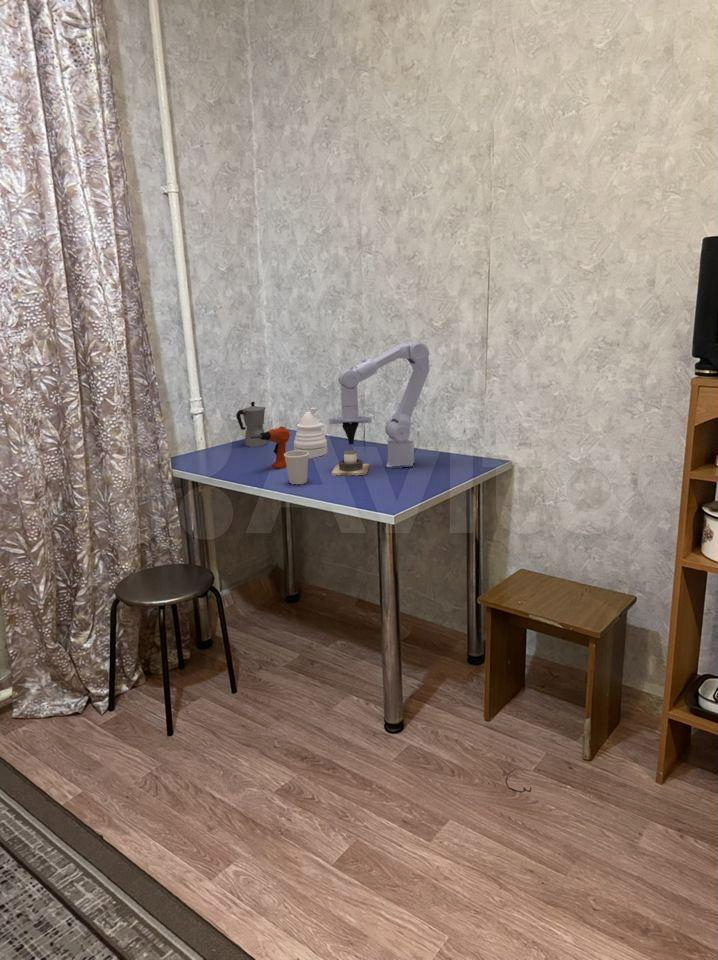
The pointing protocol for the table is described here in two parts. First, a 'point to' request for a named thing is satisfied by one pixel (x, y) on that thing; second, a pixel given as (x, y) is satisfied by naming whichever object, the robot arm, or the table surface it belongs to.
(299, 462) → the dixie cup
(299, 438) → the honey pot
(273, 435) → the toy drill
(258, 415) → the coffeepot
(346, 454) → the grey cylinder
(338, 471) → the square plate with ring
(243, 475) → the table surface
